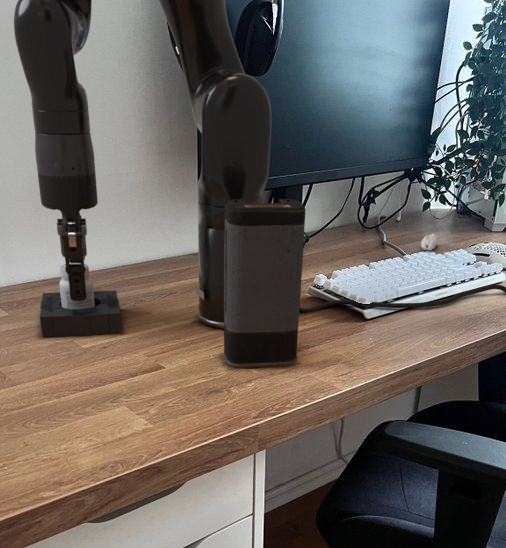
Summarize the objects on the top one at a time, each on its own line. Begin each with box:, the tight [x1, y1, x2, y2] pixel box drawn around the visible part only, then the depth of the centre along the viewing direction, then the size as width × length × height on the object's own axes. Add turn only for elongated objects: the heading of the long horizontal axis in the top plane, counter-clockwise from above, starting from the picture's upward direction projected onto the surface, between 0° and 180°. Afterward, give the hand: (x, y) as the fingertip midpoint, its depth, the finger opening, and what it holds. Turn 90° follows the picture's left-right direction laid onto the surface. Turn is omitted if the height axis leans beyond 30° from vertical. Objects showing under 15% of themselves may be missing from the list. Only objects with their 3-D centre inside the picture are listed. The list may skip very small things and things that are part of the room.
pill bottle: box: [58, 263, 95, 310], centre depth 100 cm, size 5×5×8 cm
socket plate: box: [39, 289, 123, 338], centre depth 102 cm, size 11×11×3 cm
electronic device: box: [223, 198, 307, 369], centre depth 87 cm, size 9×6×20 cm, turn 100°
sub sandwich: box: [420, 233, 439, 251], centre depth 147 cm, size 3×8×3 cm, turn 157°
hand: (78, 293), depth 100 cm, fingers closed on pill bottle, 4 cm apart
